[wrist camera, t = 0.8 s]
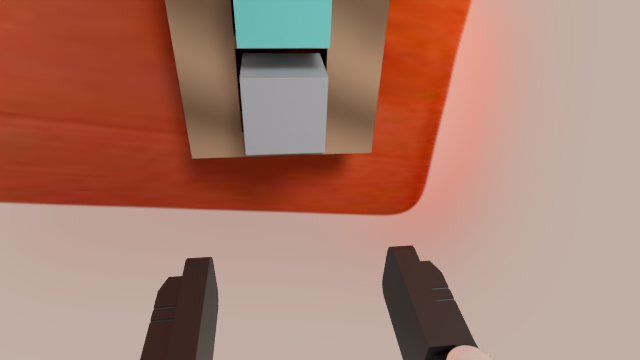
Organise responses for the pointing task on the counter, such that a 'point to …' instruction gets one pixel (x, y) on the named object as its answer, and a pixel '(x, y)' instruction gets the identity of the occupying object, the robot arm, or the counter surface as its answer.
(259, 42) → the teal key
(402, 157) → the counter surface
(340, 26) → the frame
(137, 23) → the counter surface
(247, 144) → the grey key
